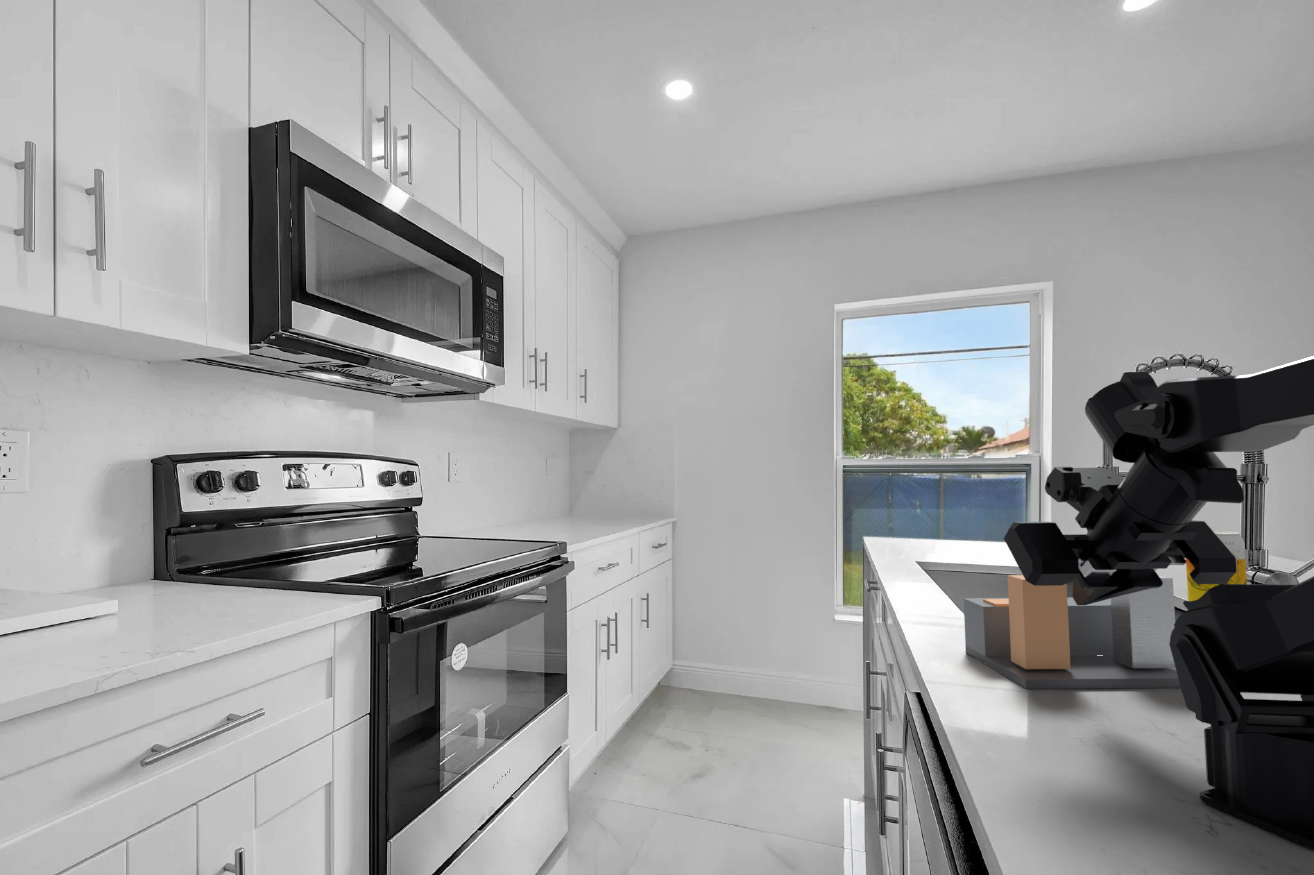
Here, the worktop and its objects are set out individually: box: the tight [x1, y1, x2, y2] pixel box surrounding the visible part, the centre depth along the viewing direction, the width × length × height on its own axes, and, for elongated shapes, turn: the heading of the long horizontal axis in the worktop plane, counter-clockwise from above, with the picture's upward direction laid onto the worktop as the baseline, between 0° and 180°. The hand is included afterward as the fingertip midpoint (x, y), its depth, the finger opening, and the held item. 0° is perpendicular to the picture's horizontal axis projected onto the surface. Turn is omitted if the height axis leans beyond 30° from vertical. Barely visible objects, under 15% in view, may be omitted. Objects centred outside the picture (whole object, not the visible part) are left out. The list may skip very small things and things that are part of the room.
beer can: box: [1185, 529, 1248, 601], centre depth 85 cm, size 6×6×15 cm
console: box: [963, 596, 1181, 690], centre depth 75 cm, size 14×20×7 cm
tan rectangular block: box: [1007, 574, 1071, 669], centre depth 72 cm, size 3×5×10 cm, turn 89°
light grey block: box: [1111, 574, 1176, 668], centre depth 72 cm, size 3×5×10 cm, turn 89°
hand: (1078, 601), depth 65 cm, fingers closed
